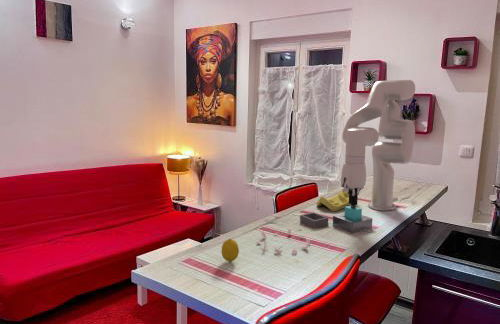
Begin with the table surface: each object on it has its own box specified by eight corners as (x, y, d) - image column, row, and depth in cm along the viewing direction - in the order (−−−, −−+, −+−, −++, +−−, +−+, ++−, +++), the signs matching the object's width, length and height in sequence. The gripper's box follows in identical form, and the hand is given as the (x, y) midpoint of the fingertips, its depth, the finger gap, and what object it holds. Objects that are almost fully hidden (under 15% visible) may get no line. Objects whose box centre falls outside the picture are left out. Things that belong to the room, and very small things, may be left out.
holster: (313, 218, 162) (313, 212, 161) (328, 224, 154) (328, 217, 154) (300, 221, 158) (300, 215, 158) (314, 228, 150) (314, 221, 150)
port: (351, 220, 159) (351, 211, 159) (371, 227, 150) (372, 218, 150) (332, 225, 154) (333, 215, 153) (352, 233, 145) (353, 223, 144)
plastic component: (336, 207, 170) (319, 194, 176) (330, 219, 174) (314, 206, 180) (360, 196, 183) (345, 184, 189) (355, 208, 187) (339, 196, 193)
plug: (351, 223, 155) (351, 201, 154) (361, 227, 151) (362, 205, 149) (344, 225, 153) (344, 203, 152) (353, 229, 149) (354, 206, 147)
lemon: (225, 267, 116) (224, 243, 115) (219, 260, 121) (219, 237, 120) (241, 264, 118) (241, 240, 117) (235, 257, 123) (234, 234, 122)
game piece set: (246, 242, 137) (246, 232, 136) (286, 231, 148) (287, 222, 148) (280, 261, 121) (281, 249, 120) (323, 246, 133) (323, 236, 132)
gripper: (360, 157, 154) (358, 199, 157) (334, 160, 147) (332, 205, 150) (375, 159, 148) (372, 203, 151) (348, 162, 140) (346, 209, 143)
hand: (352, 204), depth 150 cm, fingers closed
